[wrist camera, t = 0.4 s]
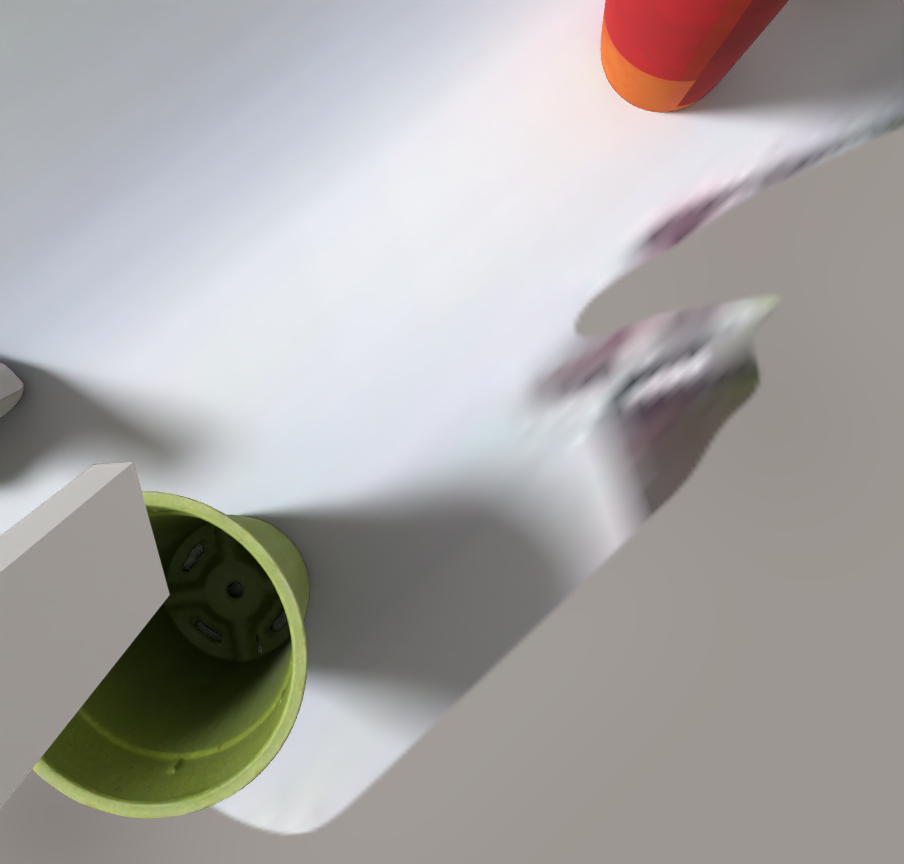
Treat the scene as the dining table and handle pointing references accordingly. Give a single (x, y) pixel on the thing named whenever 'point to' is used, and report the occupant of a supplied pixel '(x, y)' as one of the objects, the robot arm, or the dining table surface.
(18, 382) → the digital clock
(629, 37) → the coffee cup
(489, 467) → the dining table surface
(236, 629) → the plant pot
